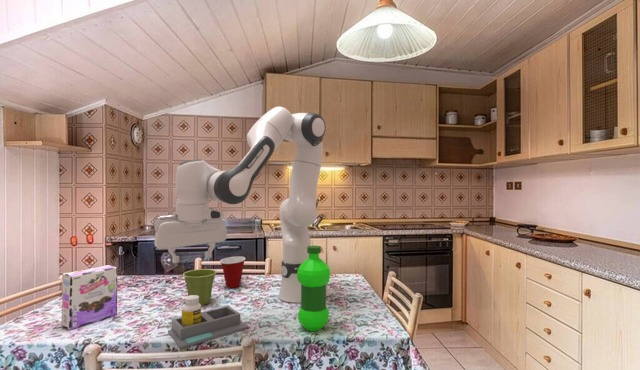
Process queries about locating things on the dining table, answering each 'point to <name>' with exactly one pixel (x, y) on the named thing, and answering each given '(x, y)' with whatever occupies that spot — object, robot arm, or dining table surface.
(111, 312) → the candy box
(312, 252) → the plastic bottle
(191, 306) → the supplement bottle
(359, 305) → the dining table surface
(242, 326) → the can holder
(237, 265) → the plastic cup
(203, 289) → the plant pot
